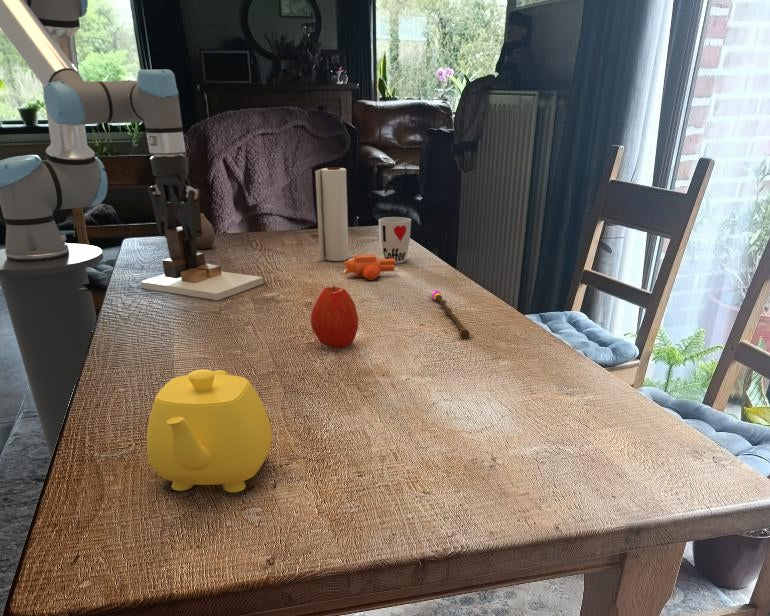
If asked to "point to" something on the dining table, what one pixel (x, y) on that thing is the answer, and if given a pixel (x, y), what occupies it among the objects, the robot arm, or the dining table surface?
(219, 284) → the board
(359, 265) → the orange toy bird
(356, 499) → the dining table surface
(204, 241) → the vase
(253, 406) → the teapot
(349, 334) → the apple
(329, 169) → the paper towel roll
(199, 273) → the brown wooden block
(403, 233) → the cup
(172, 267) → the wooden toy block
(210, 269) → the tan wooden block
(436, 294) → the magic wand
